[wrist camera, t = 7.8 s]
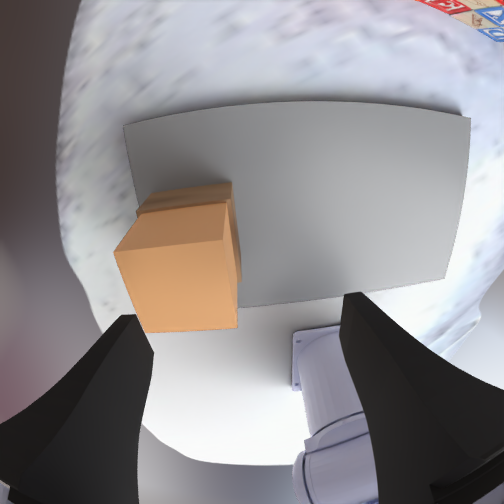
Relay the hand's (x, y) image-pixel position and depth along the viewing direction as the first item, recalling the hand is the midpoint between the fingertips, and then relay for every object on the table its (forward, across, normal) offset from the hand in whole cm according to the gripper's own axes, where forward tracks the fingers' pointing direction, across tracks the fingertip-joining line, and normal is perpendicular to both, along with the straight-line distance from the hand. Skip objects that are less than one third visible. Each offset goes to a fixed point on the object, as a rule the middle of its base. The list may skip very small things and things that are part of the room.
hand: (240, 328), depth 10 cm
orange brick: (+6, +3, 0) cm, 7 cm away
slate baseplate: (+10, -6, 0) cm, 12 cm away
